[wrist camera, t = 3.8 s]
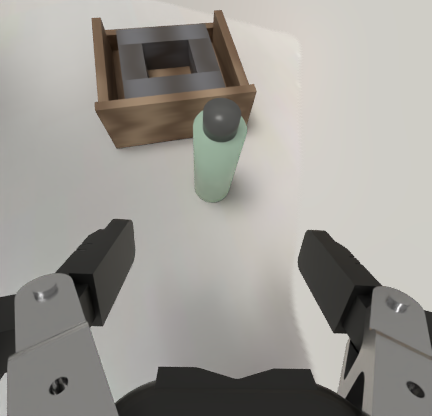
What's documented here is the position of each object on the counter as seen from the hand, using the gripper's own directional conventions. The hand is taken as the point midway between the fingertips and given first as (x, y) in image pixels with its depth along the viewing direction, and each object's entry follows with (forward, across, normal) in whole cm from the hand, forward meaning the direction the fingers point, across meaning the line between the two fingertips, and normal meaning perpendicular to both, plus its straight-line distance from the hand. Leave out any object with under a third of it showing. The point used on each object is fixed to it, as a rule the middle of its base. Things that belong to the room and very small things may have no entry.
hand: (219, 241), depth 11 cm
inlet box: (+26, +6, -7) cm, 27 cm away
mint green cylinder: (+16, 0, +3) cm, 16 cm away
